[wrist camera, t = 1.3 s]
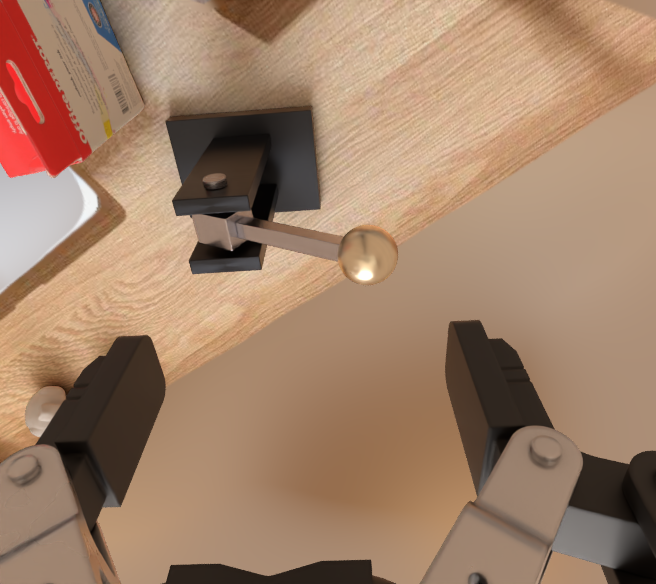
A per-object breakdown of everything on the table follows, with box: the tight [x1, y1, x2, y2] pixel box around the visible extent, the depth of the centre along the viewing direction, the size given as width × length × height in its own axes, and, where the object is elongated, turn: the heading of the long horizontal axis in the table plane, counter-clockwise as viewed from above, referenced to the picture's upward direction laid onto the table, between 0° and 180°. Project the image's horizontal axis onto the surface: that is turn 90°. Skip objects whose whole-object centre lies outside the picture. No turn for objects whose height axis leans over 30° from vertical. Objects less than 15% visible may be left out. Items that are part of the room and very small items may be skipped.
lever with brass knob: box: [192, 210, 398, 285], centre depth 28 cm, size 13×3×3 cm, turn 94°
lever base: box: [166, 106, 321, 274], centre depth 34 cm, size 11×8×13 cm
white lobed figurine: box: [25, 386, 66, 437], centre depth 53 cm, size 5×7×8 cm
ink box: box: [0, 0, 144, 178], centre depth 29 cm, size 8×5×15 cm, turn 13°
